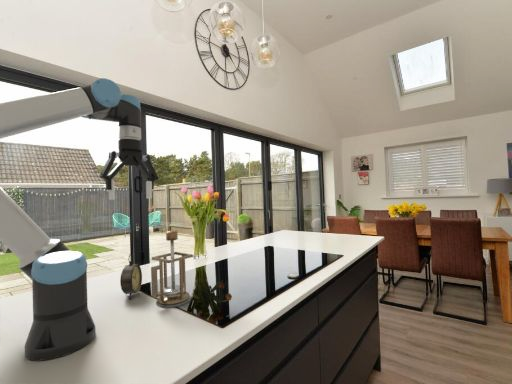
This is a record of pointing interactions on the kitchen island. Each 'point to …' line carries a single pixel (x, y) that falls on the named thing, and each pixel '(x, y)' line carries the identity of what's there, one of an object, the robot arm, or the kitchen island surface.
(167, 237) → the plunger
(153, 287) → the press frame
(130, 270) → the alarm clock
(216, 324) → the kitchen island surface
